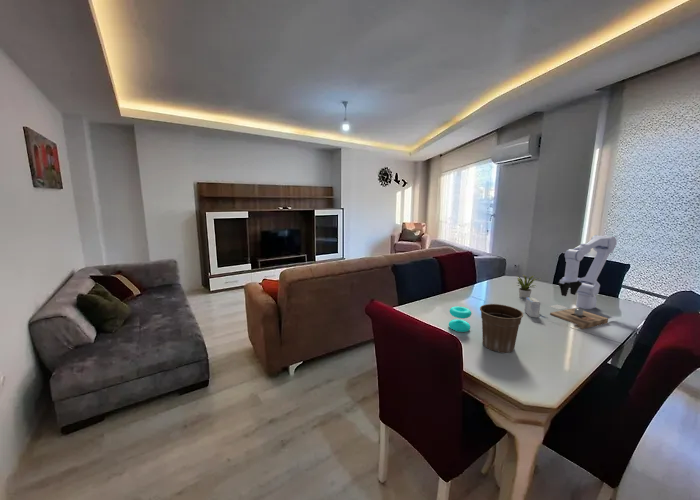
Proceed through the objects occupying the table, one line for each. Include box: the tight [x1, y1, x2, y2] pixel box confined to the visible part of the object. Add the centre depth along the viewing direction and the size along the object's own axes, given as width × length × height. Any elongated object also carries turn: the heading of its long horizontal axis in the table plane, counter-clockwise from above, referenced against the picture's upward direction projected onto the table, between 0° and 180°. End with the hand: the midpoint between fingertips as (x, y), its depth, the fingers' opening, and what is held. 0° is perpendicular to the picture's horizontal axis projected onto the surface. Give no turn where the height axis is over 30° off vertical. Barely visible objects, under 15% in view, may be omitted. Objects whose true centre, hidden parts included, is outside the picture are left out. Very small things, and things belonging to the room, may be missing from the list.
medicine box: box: [524, 297, 541, 318], centre depth 158 cm, size 8×4×9 cm, turn 168°
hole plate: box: [549, 307, 609, 330], centre depth 151 cm, size 20×16×3 cm
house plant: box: [516, 274, 541, 299], centre depth 183 cm, size 14×14×16 cm
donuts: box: [448, 305, 472, 333], centre depth 140 cm, size 10×10×10 cm
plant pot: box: [479, 303, 524, 354], centre depth 122 cm, size 16×16×16 cm
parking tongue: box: [549, 304, 569, 311], centre depth 166 cm, size 8×6×2 cm
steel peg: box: [574, 307, 584, 318], centre depth 151 cm, size 4×4×6 cm
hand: (568, 295), depth 160 cm, fingers open, 7 cm apart
